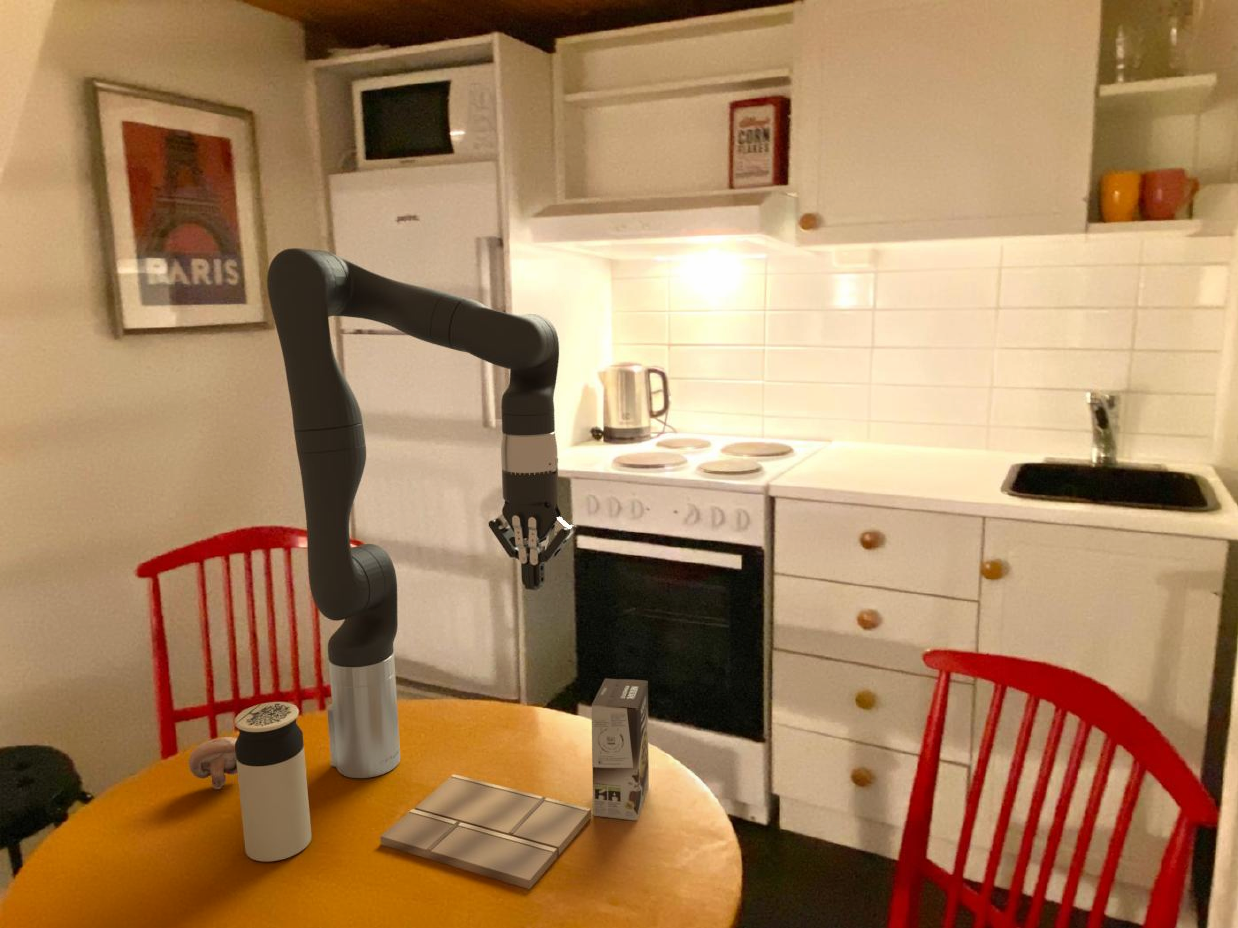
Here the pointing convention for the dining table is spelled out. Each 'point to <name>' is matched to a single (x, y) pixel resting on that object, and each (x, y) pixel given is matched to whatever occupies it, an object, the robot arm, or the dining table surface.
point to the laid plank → (470, 848)
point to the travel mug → (272, 781)
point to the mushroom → (214, 760)
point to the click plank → (507, 811)
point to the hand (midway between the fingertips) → (533, 588)
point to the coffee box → (620, 748)
